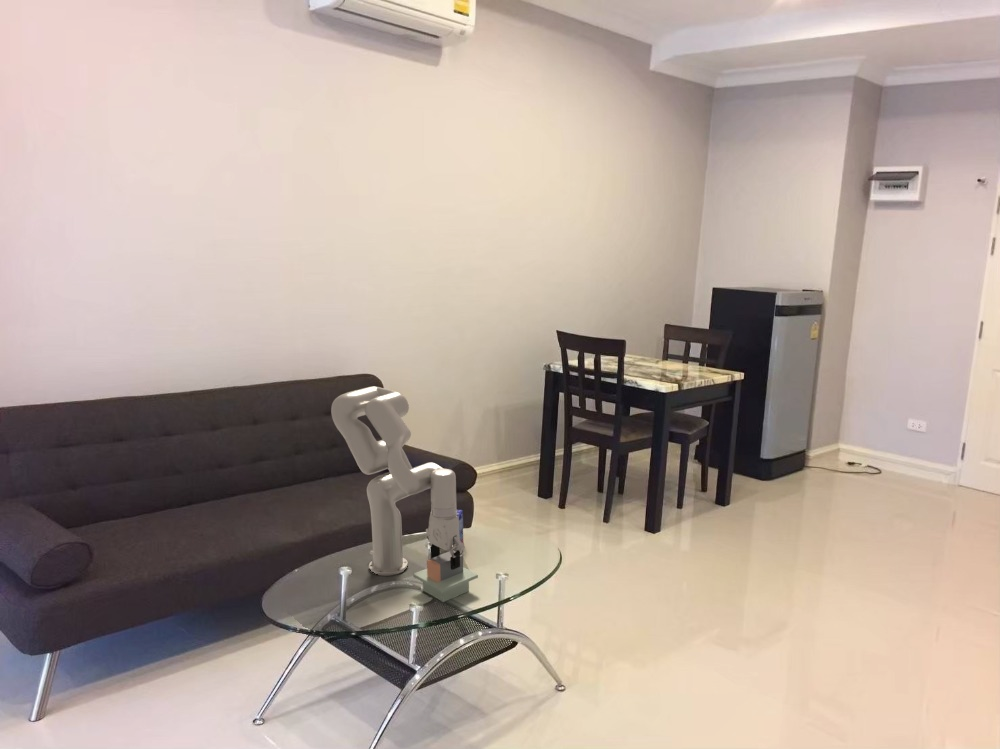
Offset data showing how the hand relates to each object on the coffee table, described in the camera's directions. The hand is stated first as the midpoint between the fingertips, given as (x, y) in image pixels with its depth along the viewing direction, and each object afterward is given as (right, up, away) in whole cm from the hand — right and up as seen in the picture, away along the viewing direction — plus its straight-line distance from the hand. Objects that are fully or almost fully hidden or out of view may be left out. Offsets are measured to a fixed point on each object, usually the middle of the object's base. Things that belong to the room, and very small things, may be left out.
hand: (445, 562), depth 245 cm
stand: (0, -9, +2) cm, 9 cm away
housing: (0, -4, +1) cm, 4 cm away
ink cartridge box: (-1, -2, +34) cm, 34 cm away
